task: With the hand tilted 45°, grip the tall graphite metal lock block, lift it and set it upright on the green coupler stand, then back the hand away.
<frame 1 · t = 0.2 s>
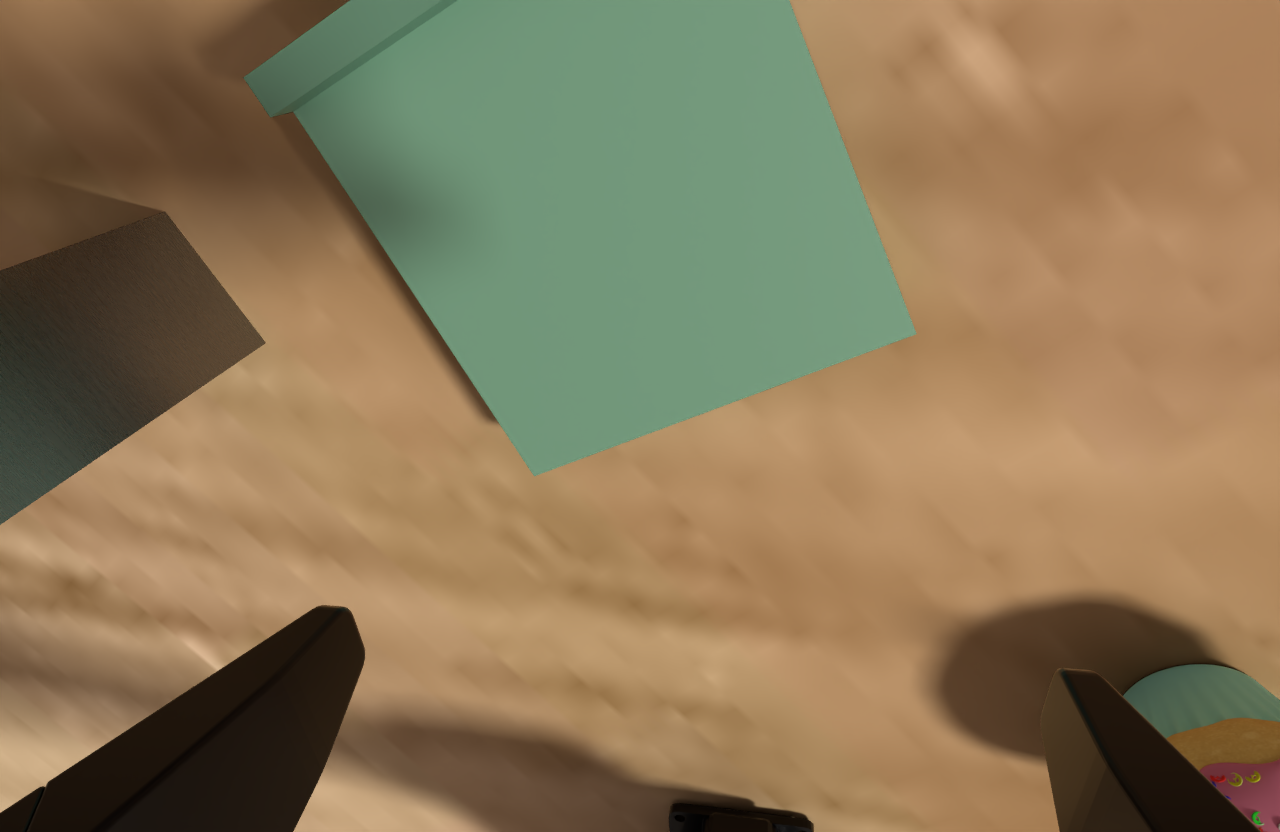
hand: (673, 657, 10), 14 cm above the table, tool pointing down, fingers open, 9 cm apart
cupcake: (1187, 707, 27), on the table
lock block: (168, 308, 26), on the table
coupler stand: (615, 183, 21), on the table
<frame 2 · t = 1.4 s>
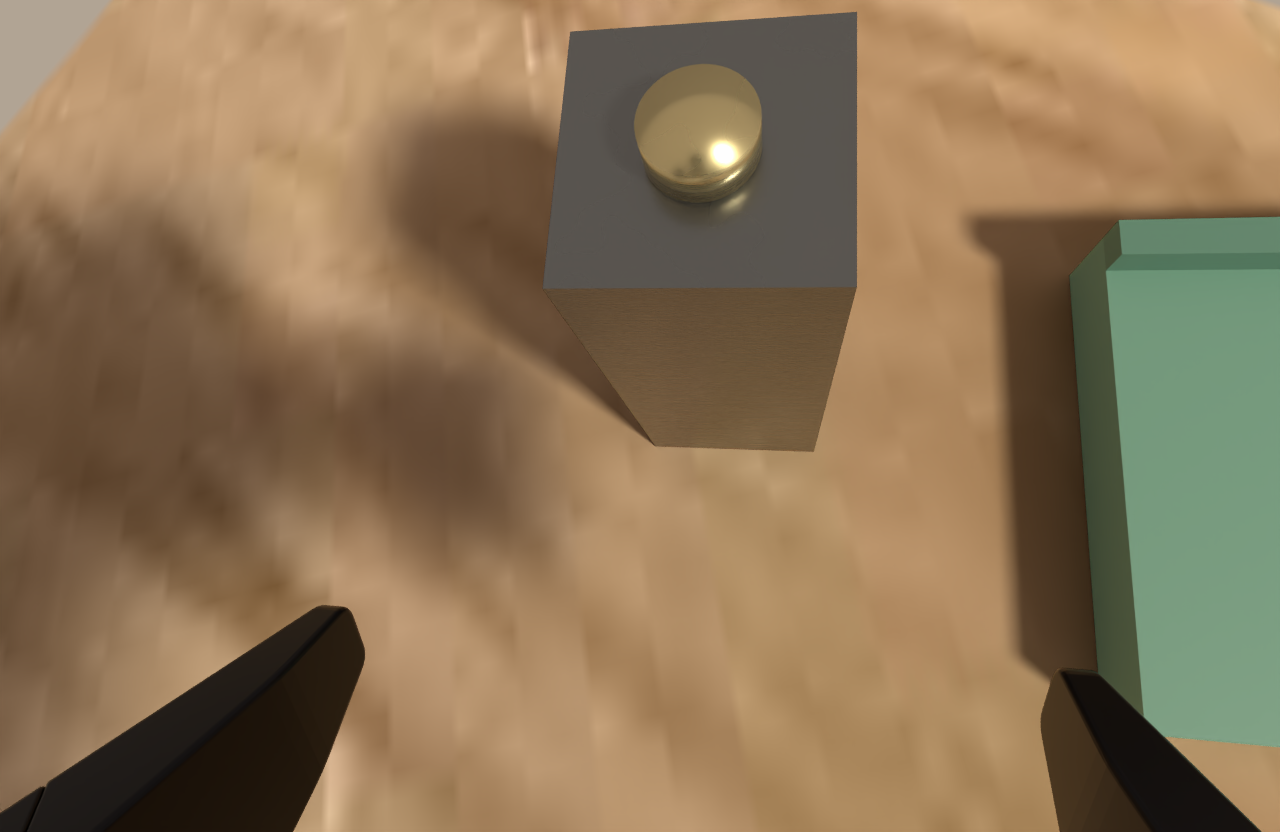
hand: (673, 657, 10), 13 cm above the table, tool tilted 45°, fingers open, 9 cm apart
lock block: (736, 373, 24), on the table
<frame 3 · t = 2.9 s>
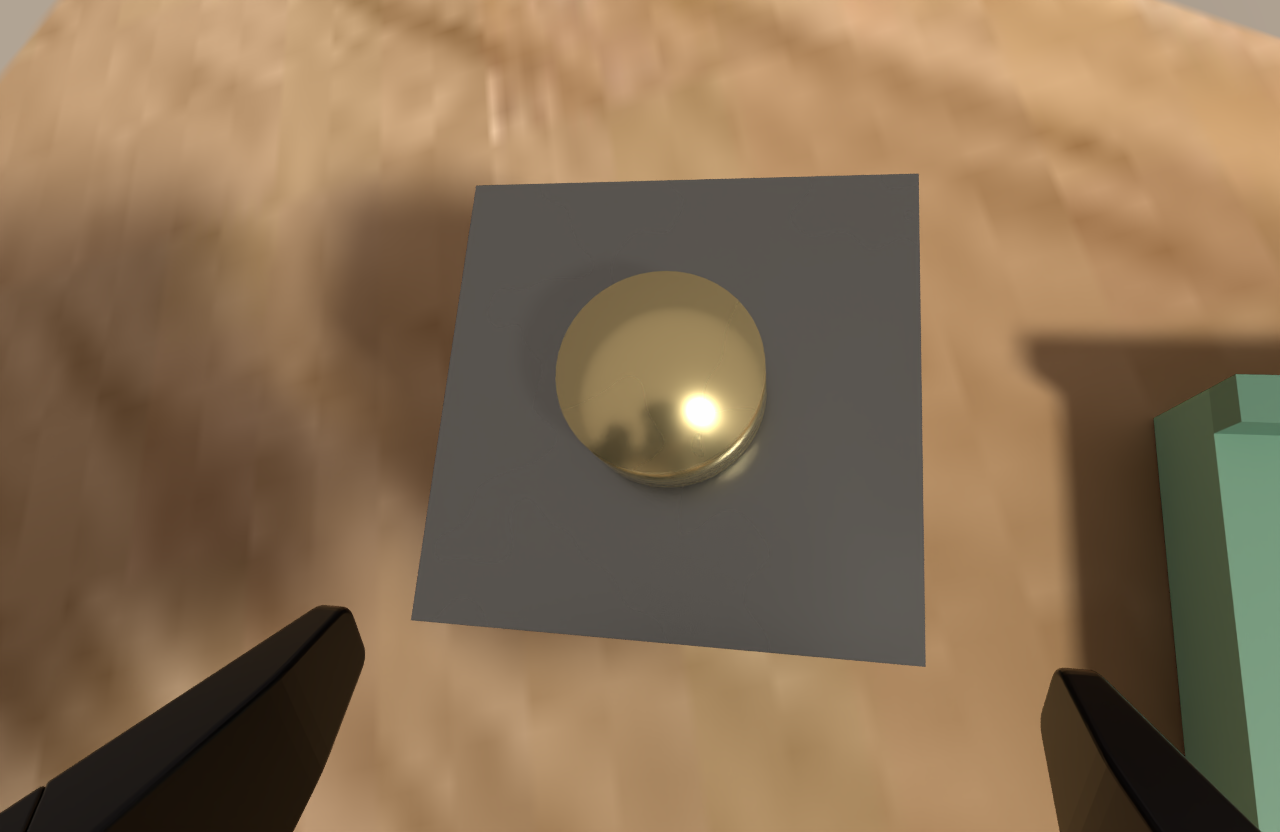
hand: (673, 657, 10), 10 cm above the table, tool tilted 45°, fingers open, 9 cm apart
lock block: (734, 529, 20), on the table
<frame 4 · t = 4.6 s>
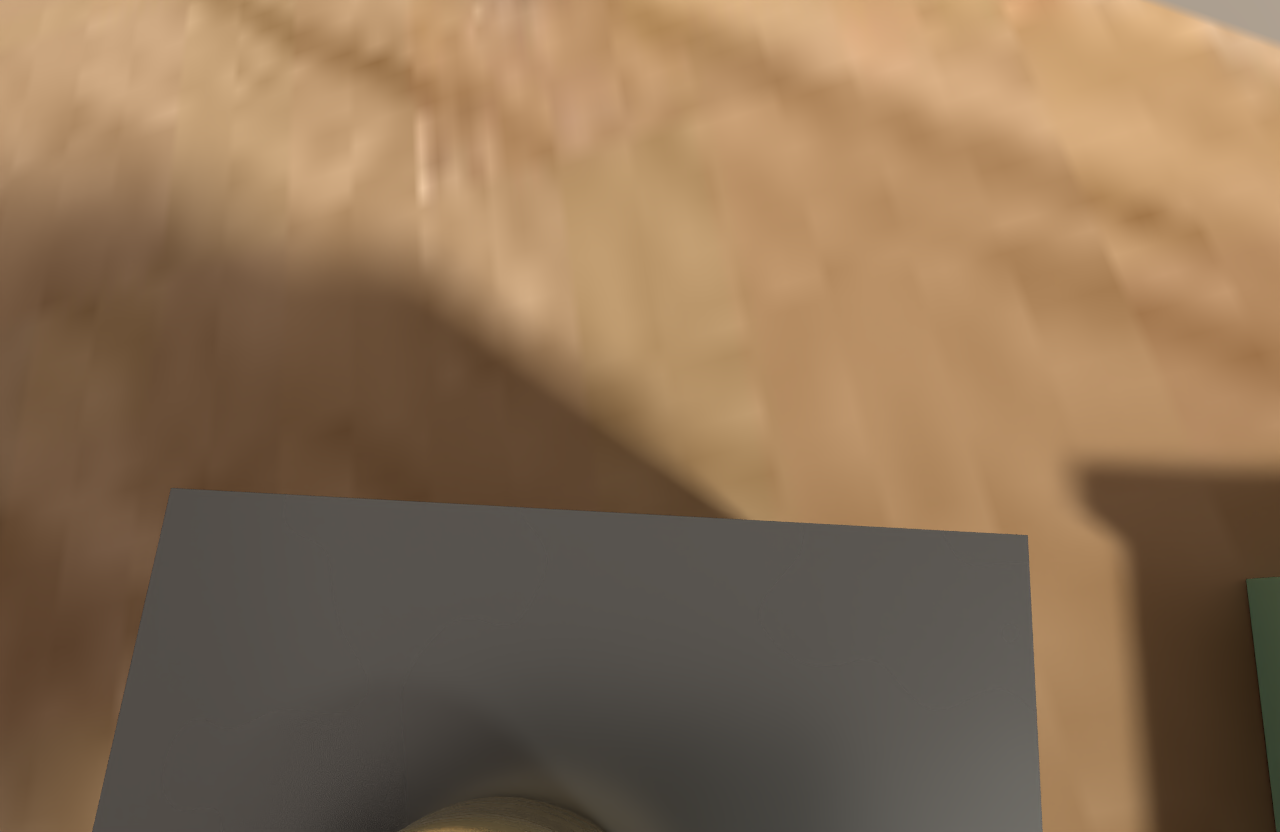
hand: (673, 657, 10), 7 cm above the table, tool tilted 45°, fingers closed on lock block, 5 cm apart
lock block: (710, 709, 16), on the table, touching gripper
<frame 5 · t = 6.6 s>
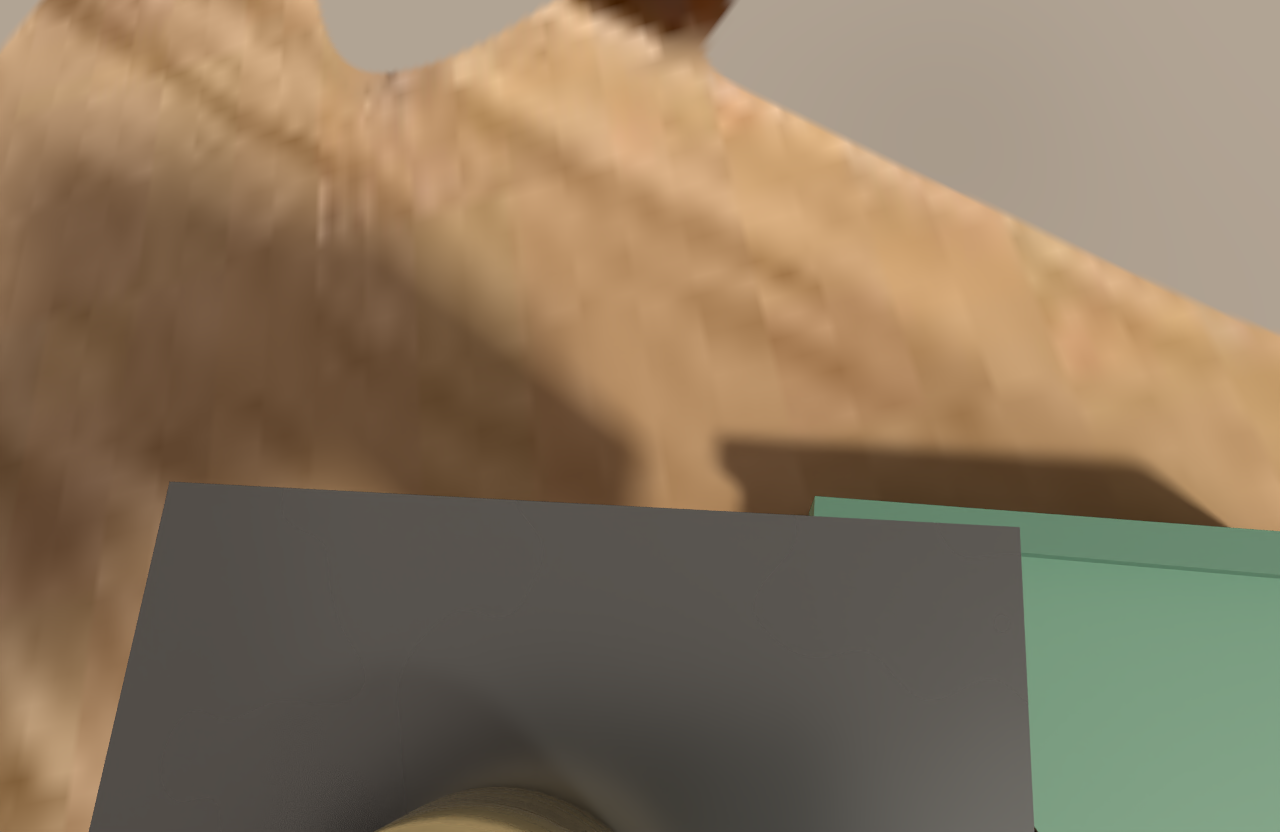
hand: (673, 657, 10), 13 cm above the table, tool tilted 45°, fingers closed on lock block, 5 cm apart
lock block: (708, 707, 16), point 7 cm above the table, touching gripper
coupler stand: (1025, 771, 20), on the table
when the fingers open (10 cm above the table, at t = 8.7 s): lock block drops 1 cm, resting on coupler stand.
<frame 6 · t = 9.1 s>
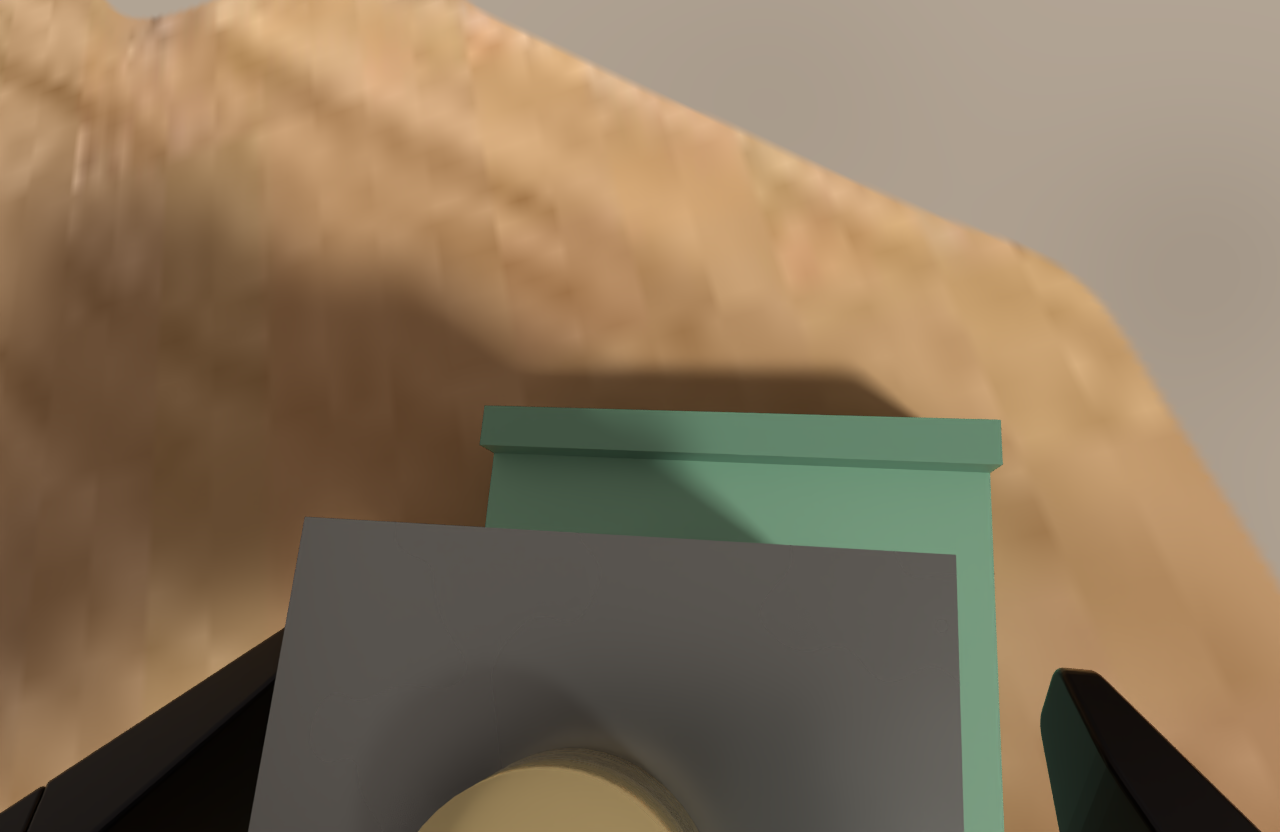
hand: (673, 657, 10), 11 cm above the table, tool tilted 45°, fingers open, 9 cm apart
lock block: (714, 700, 17), point 2 cm above the table, touching coupler stand
coupler stand: (723, 690, 19), on the table
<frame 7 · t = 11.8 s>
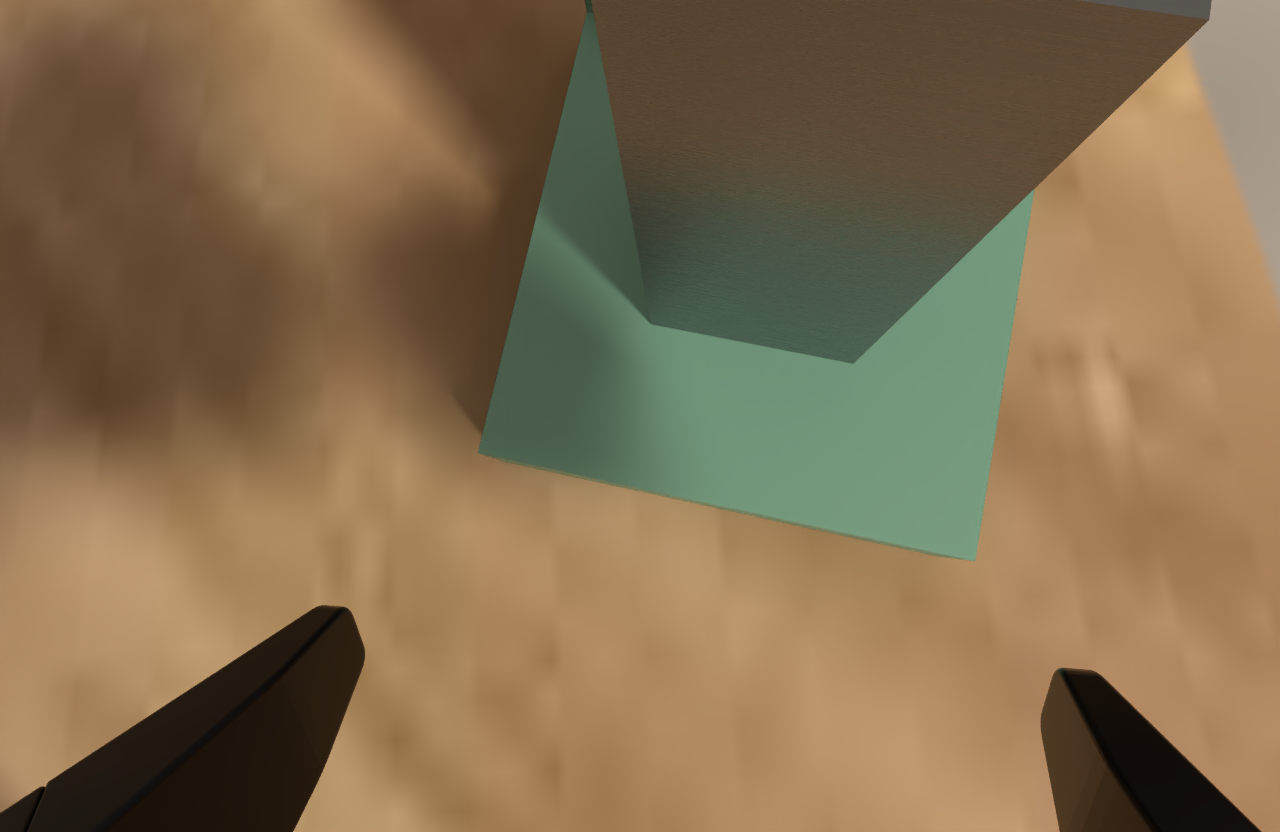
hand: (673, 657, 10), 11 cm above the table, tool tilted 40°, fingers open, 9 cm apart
lock block: (770, 247, 19), point 2 cm above the table, touching coupler stand
coupler stand: (761, 280, 21), on the table
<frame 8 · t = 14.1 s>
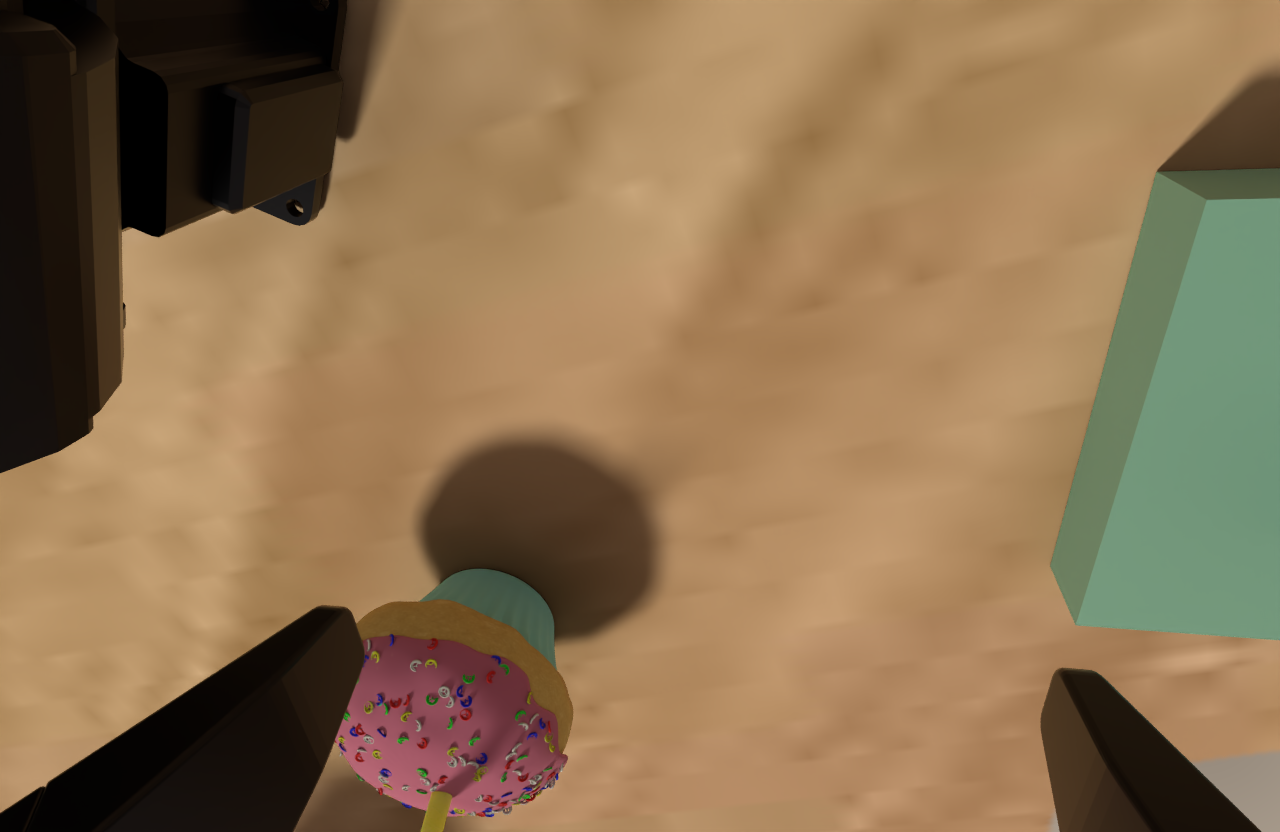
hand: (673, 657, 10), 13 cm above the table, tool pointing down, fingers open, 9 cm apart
cupcake: (493, 609, 29), on the table
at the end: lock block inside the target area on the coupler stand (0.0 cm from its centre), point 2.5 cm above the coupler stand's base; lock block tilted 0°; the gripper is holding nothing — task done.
